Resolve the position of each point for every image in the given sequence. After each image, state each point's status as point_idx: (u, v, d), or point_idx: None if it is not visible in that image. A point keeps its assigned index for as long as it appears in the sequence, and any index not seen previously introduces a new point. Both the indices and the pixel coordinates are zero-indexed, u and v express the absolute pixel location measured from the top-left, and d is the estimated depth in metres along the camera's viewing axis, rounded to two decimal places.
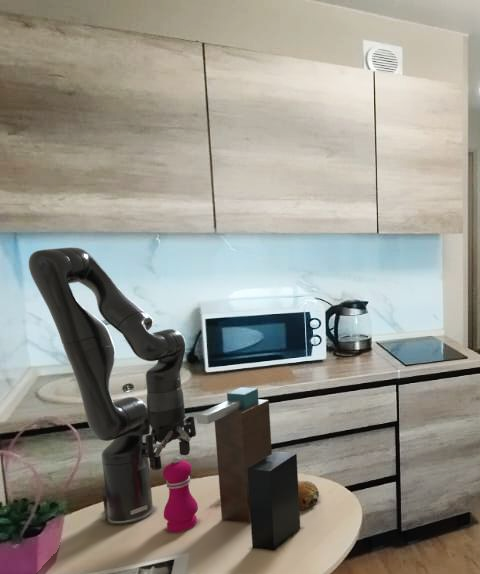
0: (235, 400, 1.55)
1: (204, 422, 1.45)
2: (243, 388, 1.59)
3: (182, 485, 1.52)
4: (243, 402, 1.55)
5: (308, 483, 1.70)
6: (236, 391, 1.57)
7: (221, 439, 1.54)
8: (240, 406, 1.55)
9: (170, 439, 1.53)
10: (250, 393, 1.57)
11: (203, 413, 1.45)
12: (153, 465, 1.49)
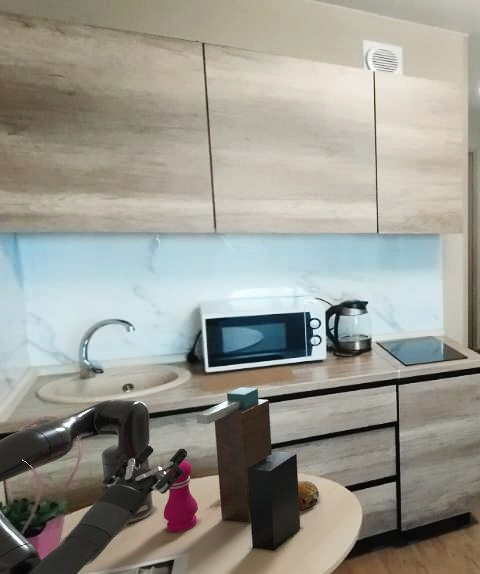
0: (235, 400, 1.55)
1: (204, 422, 1.45)
2: (243, 388, 1.59)
3: (182, 485, 1.52)
4: (243, 402, 1.55)
5: (308, 483, 1.70)
6: (236, 391, 1.57)
7: (221, 439, 1.54)
8: (240, 406, 1.55)
9: (145, 471, 1.29)
10: (250, 393, 1.57)
11: (203, 413, 1.45)
12: (182, 455, 1.34)
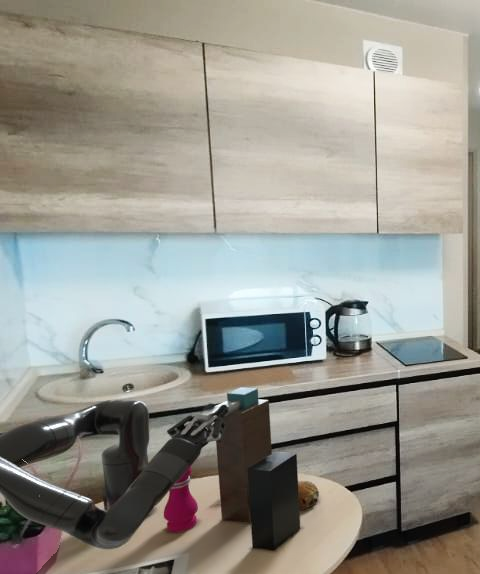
0: (235, 400, 1.55)
1: None
2: (243, 388, 1.59)
3: (182, 485, 1.52)
4: (243, 402, 1.55)
5: (308, 483, 1.70)
6: (236, 391, 1.57)
7: None
8: (240, 406, 1.55)
9: None
10: (250, 393, 1.57)
11: (203, 413, 1.45)
12: (225, 410, 1.48)
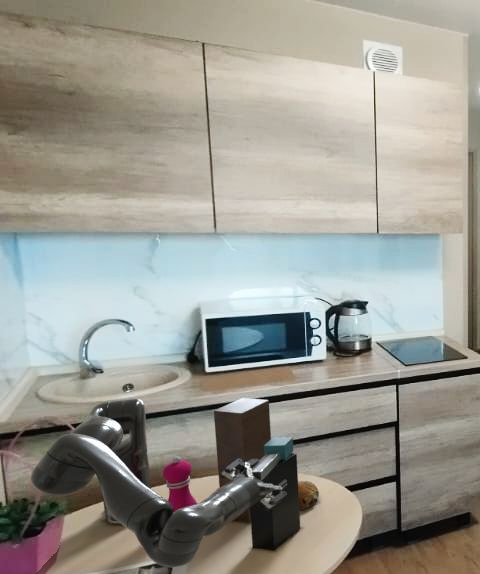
0: (275, 452, 1.48)
1: None
2: (276, 438, 1.52)
3: (182, 485, 1.52)
4: (283, 453, 1.49)
5: (308, 483, 1.70)
6: (272, 442, 1.50)
7: (221, 439, 1.54)
8: (280, 457, 1.49)
9: (260, 481, 1.37)
10: (288, 443, 1.51)
11: (254, 470, 1.39)
12: (284, 487, 1.43)
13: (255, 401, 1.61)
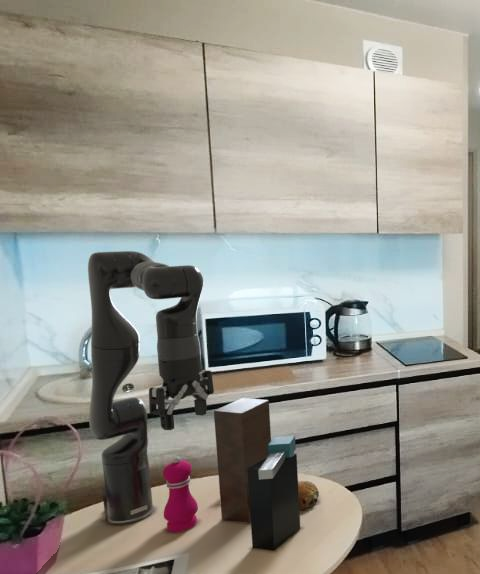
0: (280, 450, 1.49)
1: (268, 477, 1.39)
2: (278, 437, 1.53)
3: (182, 485, 1.52)
4: (288, 451, 1.50)
5: (308, 483, 1.70)
6: (275, 441, 1.50)
7: (221, 439, 1.54)
8: (285, 456, 1.50)
9: (184, 395, 1.30)
10: (292, 441, 1.52)
11: (264, 468, 1.40)
12: (165, 424, 1.26)
13: (255, 401, 1.61)
